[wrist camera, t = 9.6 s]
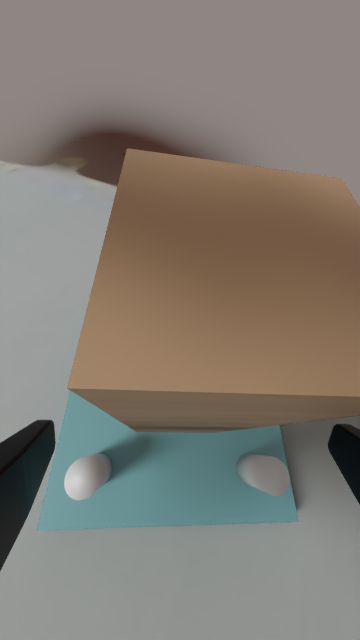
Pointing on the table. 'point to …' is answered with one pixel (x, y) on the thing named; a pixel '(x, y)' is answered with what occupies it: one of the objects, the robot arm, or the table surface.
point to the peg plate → (163, 476)
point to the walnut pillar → (223, 299)
